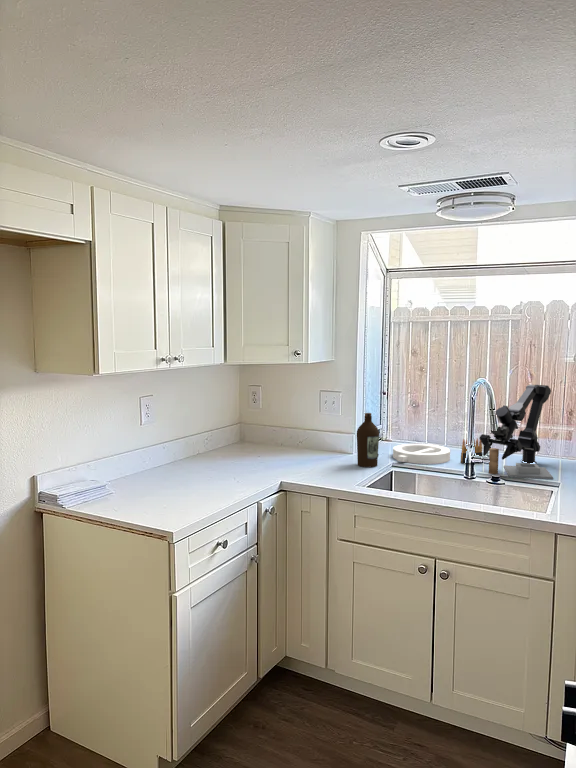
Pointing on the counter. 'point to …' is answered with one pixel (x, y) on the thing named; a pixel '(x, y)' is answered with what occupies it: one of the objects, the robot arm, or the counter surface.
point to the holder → (528, 471)
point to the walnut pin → (493, 460)
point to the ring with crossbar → (421, 453)
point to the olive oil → (367, 443)
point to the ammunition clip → (477, 449)
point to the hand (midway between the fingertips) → (492, 457)
